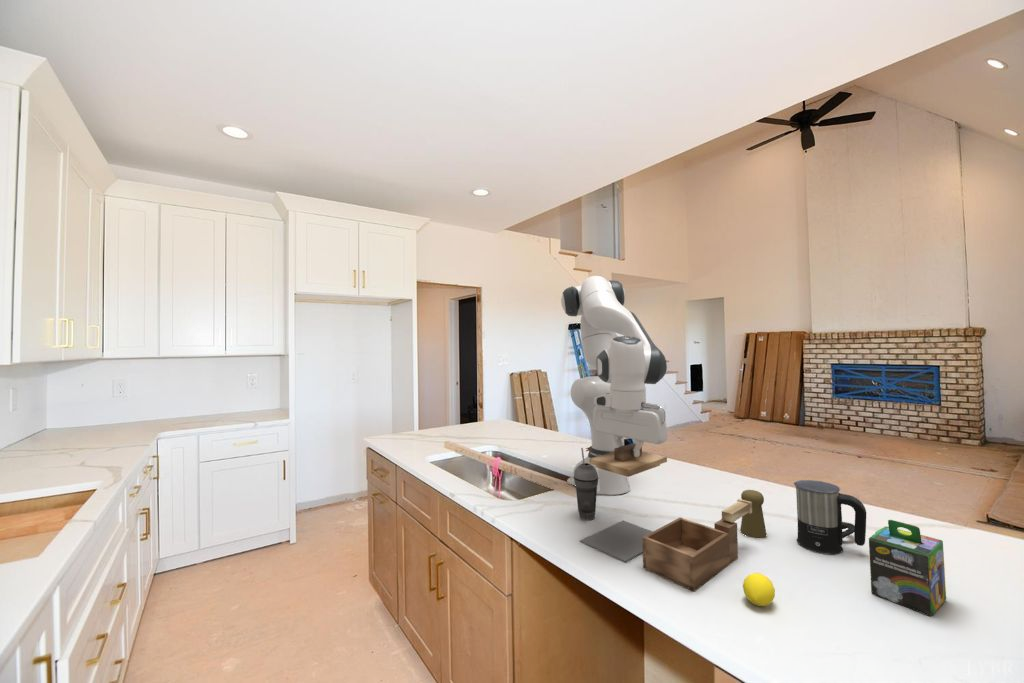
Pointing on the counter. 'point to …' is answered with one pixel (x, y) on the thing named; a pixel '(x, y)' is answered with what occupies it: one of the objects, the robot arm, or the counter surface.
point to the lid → (627, 461)
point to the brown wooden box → (690, 551)
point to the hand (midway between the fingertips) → (628, 454)
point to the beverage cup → (586, 489)
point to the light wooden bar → (737, 510)
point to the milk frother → (826, 517)
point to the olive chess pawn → (753, 515)
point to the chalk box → (907, 567)
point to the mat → (619, 540)
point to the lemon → (759, 589)
